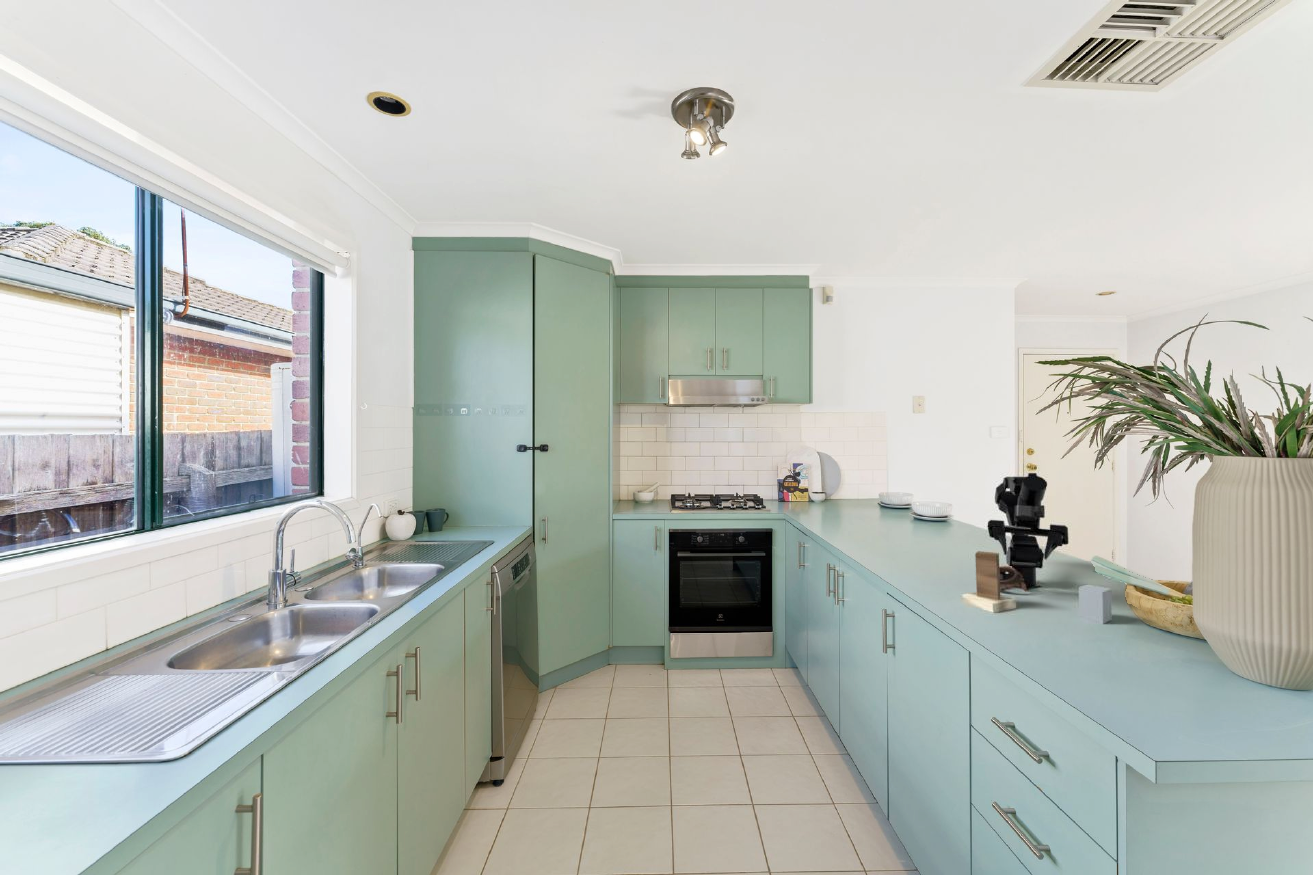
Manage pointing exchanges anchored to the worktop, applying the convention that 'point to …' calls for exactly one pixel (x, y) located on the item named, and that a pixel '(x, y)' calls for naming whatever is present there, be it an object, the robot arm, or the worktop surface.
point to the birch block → (989, 602)
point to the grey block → (1095, 603)
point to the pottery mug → (1011, 578)
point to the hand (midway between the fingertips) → (1024, 556)
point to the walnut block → (987, 575)
